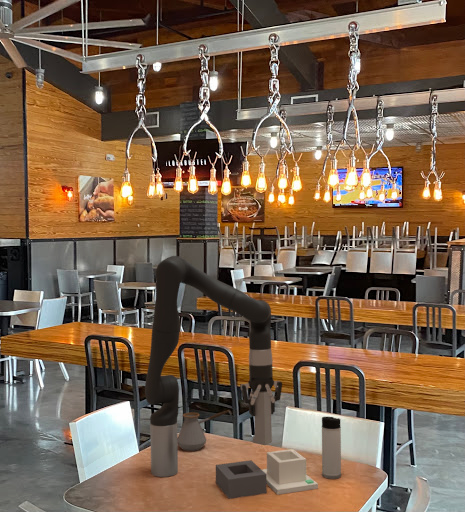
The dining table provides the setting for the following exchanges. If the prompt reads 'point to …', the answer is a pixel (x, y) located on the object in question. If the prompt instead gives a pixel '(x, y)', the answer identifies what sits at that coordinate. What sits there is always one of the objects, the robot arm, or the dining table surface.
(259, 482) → the holster
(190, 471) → the dining table surface
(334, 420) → the travel mug
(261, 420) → the vintage mobile phone
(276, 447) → the dining table surface
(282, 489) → the charging dock
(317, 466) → the dining table surface
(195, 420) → the coffee pot
